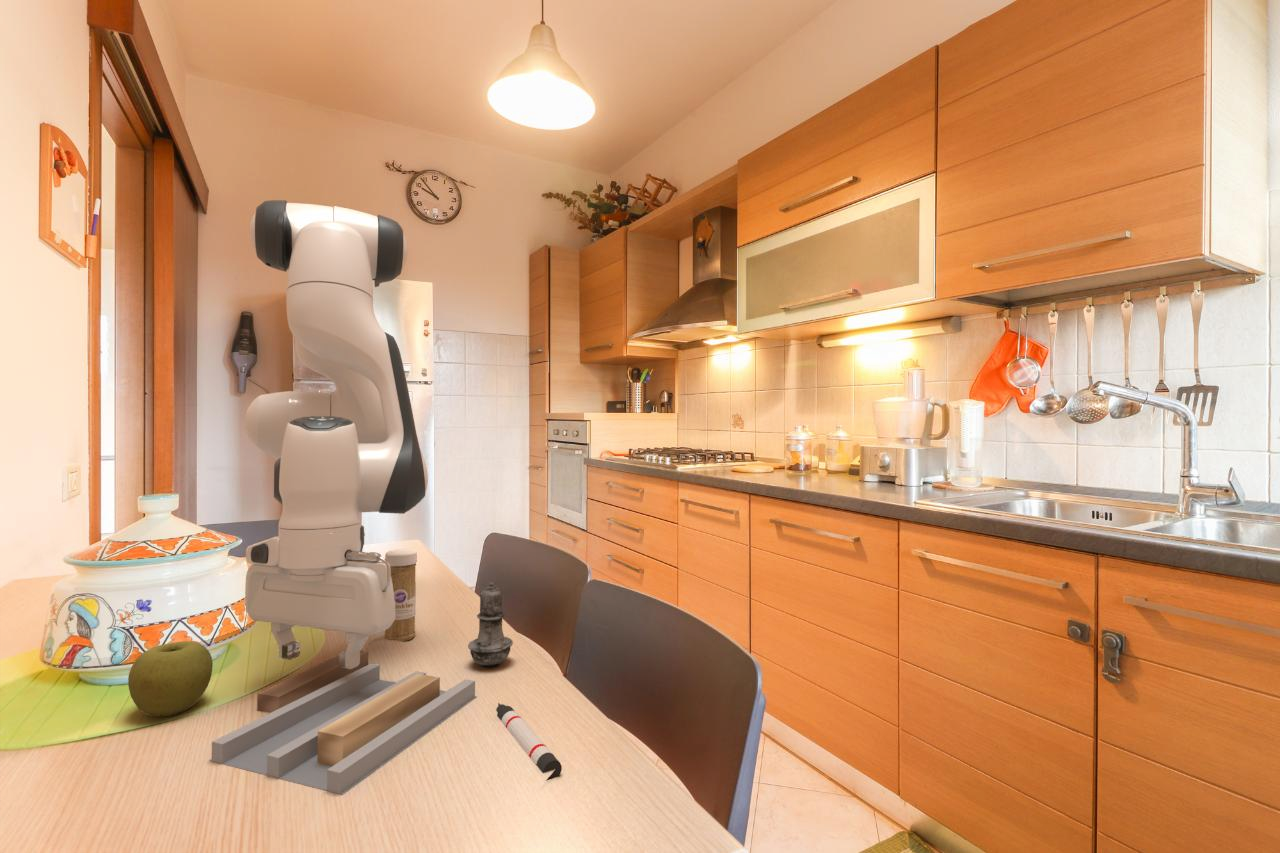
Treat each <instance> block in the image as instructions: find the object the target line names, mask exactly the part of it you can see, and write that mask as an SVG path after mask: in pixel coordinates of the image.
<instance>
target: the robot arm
mask: <svg viewBox="0 0 1280 853" xmlns="http://www.w3.org/2000/svg"><path fill="white" fill-rule="evenodd" d="M403 229H404V228H402V226H401V225H400V224H399V222H398V221H396V220H394V219H392V218H389V217H386V216H384V215H381V214H377V215H374V214H370V213H367V212H363V211H360V210H356V209H352V208H346V207H341V206H337V205H334V206H328V205H321V204H313V203H301V202H300V203H299V202H288V201H287V200H284V199H273V200H269V199H268V200H264V201H263V202H262V203H261V204H259V205H258V206H257V207H256V209H255V212H254V213H253V216H252V218H251V221H250V226H249V236H250V242H251V244H252V247H253V249H254V251H255V254H256V257H257V258H258V259H259V260H260V262H262V263H263V264H264V265H265V266H267V267H269V268H272V269H275V270H279V271H281V272H287V281H286V295H285V297H286V298H285V300H286V302H285V304H286V316H287V317H286V318H287V324H288V329H289V330H290V332H291V333H292V334H291V335H292V336H293V337H294V338H295V348H294V349H295V354H296V357H297V359H298V360H299V361H300V363H301V364H303V366H304V367H306V368H308V369H309V370H311V371H313V372H314V373H315V372H316V373H317V374H319V375H320V376H323V377H325V378H328V379H329V380H330V381H331V382H332V383H333V384H334V386H335V390H333V391H330V392H328V391H326V392H325V391H324V392H322V391H298V390H297V391H295V390H288V391H279V392H278V391H277V392H271V393H263V394H260V395H258V396H257V397H256V398H254V399H253V401H251V403H250V404H249V406H248V408H247V410H246V413H245V415H244V416H245V417H244V427H245V431H246V434H247V436H248V438H249V439H250V441H251V442H252V443H253V445H255V446H256V447H258V449H260V450H262V451H263V452H265V453H266V454H268V455H269V456H270V457H271V458H273V459H274V460H275V462H274V466H273V468H274V469H273V497H274V499H275V500H277V502H278V503H279V504H281V505H282V511H281V515H280V518H279V520H278V535H277V536H273V537H271V538H269V539H268V538H267V539H265V540H262V541H259V542H255V543H253V544H251V545H248V546H247V548H246V549H245V559H246V562H247V563H248V564H251V565H250V566H248V569H247V571H246V576H245V588H244V590H245V591H244V594H245V595H244V599H245V606H246V610H245V611H246V613H247V615H248V617H249V618H250V619H251V620H252V621H258V622H265V623H271V628H270V629H271V630H270V631H271V633H272V635H273V637H274V639H275V641H276V644H277V645H278V658H279V659H280V660H281V659H283V660H293V659H295V658H297V657H299V656H300V653H301V649H300V648H301V641H297V640H296V638H295V635H294V632H293V629H292V628H294V627H296V626H297V627H303V628H304V627H305V628H312V629H320V630H327V631H334V632H340V633H341V632H342V633H345V641H347V642H348V645H347V647H346V650H345V651H346V652H345V651H343V652H340V653H338V655H339V660H340V662H339V667H340V668H345V669H353V668H355V667H357V666H358V665H359V663H360V651H362V649H363V647H364V646H365V644H366V642H367V641H368V639H369V637H370V636H373V635H376V634H379V633H382V632H383V631H385V630H386V629H388V628H390V626H391V625H392V624H393V622H394V620H395V600H394V591H393V584H392V579H391V569H390V564H389V563H387V561H386V560H385V558H384V557H382V554H380V553H378V552H374V551H372V552H371V551H370V552H365V551H363V549H364V546H365V537H366V534H365V533H366V532H365V527H364V525H362V523H363V522H362V520H363V519H362V518H363V513H376V512H378V513H380V514H399V515H400V514H406V513H407V512H409V511H411V510H412V509H413V508H414V507H416V506H417V505H418V504H419V503H420V502H421V501H423V499H424V498H425V497H426V492H427V489H428V485H429V484H428V482H429V481H428V480H429V477H428V476H429V475H428V469H427V468H428V467H427V464H426V461H425V458H424V456H423V453H422V450H421V448H420V443H419V439H418V434H417V430H416V423H415V418H414V414H413V407H412V402H411V398H410V397H411V396H410V393H409V387H408V382H407V376H406V374H405V367H404V364H403V359H402V355H401V350H400V348H399V346H398V343H397V341H396V339H395V337H394V336H393V335H391V334H390V333H387V332H386V331H384V330H383V328H382V327H381V325H380V324H379V322H378V320H377V317H376V315H375V311H374V288H373V287H375V288H377V287H380V285H381V284H382V283H383V284H384V283H387V282H392V281H394V280H395V279H396V278H398V277H400V275H401V273H402V271H403V269H404V267H405V265H406V263H407V259H408V251H409V250H408V242H407V240H406V236H405V235H404V234H405V233H404V231H403ZM373 281H374V282H373ZM373 283H374V286H373Z"/></svg>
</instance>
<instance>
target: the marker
mask: <svg viewBox="0 0 1280 853" xmlns="http://www.w3.org/2000/svg"><path fill="white" fill-rule="evenodd" d="M497 704H498V706H497V707H496V710H495V711H496V713H497V715H496V717H497V718H498V719H499V720H500V722H501V723H502V724H503V726H504V727H505V728H506V730H507V731H508V732H509V734H511V737H513V738H514V740H515V741H516V742H517V744H518V745H519V746H520V747H521V748H522V750H523V751H524V752H525V754H527V756H528V757H529V758H530V760H531V761H532V763H533V764H534V765H535V766H537V768H538V769H539V770H540V772H541V773H542V774H545V773H548V772H551V771H553V772H552V773H551V774H550V775H549V776H548V778H547V779H546V780H545V781H550V780H553V779H556V778H558V777H560V775H561V774H562V769H563V768H562V764H561V762H560V760H558V759H557V758H556V756H555V754H553V752H552V751H551V750H550V749H549V748H548V746H547V745H546V744H545V743H544V742H543V741H542V740H541V738H540V737H539V736H538V735H537V734H536V732H534V731H533V729H532V728H531V727H530V725H528V724H527V723H526V721H525V720H524V719H523V718H522V717H521V715H520V714H519V713H517V711H515V710H514V708H513V707H511V706H510V705H505V704H503V703H502V704H500V703H499V702H498V703H497Z"/></svg>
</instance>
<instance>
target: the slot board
mask: <svg viewBox="0 0 1280 853" xmlns="http://www.w3.org/2000/svg"><path fill="white" fill-rule="evenodd" d="M380 666H381V665H380V664H377V663H375V664H374V663H370V664H369V663H368V665H367V666H365V667H363V668H361V669H359V670H357V671H355V672H353V673H351V674H349V675H347V676H345V677H343V678H341V679H339V680H337V681H334V682H332V683H330V684H328V685H326V686H324V687H322V688H320V689H318V690H316V691H314V692H312V693H310V694H308V695H306V696H304V697H302V698H300V699H298V700H296V701H294V702H292V703H290V704H288V705H286V706H284V707H282V708H279V709H277V710H275V711H273V712H271V713H269V712H268V714H266V715H263V716H262V717H259V718H257V719H255V720H253V721H251V722H250V723H247V724H245V725H243V726H240V727H239V728H237V729H235V730H233V731H231V732H229V733H227V734H225V735H223V736H221V737H219V738H217V739H214V740H212V741H211V759H209V760H208V761H209V762H212V763H216V764H219V765H224V766H227V767H232V768H235V769H239V770H244V771H247V772H252V773H255V774H259V775H264V776H267V777H270V778H274V779H278V780H283V781H286V782H290V783H294V784H298V785H302V786H306V787H308V788H309V787H310V788H312V789H313V788H314V789H316V790H321V791H324V792H327V793H328V792H329V793H332V794H337V795H340V796H343V795H344V794H346V793H347V792H349V791H350V790H351V789H353V788H355V787H356V786H357V785H358V784H360V783H361V782H362V781H364V780H365V779H367V778H368V777H369V776H371V775H372V774H373V773H375V772H376V771H377V770H379V769H380V768H382V767H383V766H384V765H385V764H387V763H389V762H390V761H391V760H393V759H394V758H395V757H397V756H399V754H401V753H402V752H404V751H405V750H406V749H408V748H409V747H411V746H412V745H413V744H415V743H416V742H417V741H418V740H421V738H424V736H425V735H427V734H428V733H430V732H431V731H433V730H434V729H435V728H436V727H437V728H438V726H439V725H441V724H443V723H444V721H446V720H448V719H449V718H450V717H452V716H453V715H455V714H456V713H457V712H458V711H460V710H461V709H463V708H464V707H465V706H467V705H468V704H470V703H471V702H472V701H474V700H475V699H476V698H478V696H477V695H476V680H474V679H473V680H471V679H466V678H465V679H463V680H461V681H460V682H459V683H457V684H456V685H454V686H453V687H451V688H450V689H447V690H442V689H440V696H439V697H437V698H436V699H434V700H433V701H431V702H430V703H428V704H427V705H425V706H424V707H422V708H420V709H419V710H417V711H416V712H414V713H413V714H411V715H410V716H408V717H407V718H405V719H404V720H402V721H401V722H399V723H398V724H396V725H395V726H393V727H392V728H390V729H388V730H387V731H385V732H384V733H382V734H381V735H379V736H378V737H376V738H375V739H373V740H372V741H370V742H369V743H367V744H366V745H364V746H363V747H361V748H360V749H358V750H356V751H355V752H353V753H352V754H350V755H349V756H347V757H346V758H344V759H343V760H341V761H340V762H338V763H337V764H335V765H334V766H332V767H331V766H327V765H323V764H319V763H317V758H318V731H319V730H321V729H322V728H324V727H326V726H328V725H329V724H331V723H333V722H335V721H337V720H338V719H340V718H342V717H344V716H345V715H347V714H349V713H351V712H352V711H354V710H356V709H358V708H359V707H361V706H363V705H365V704H366V703H368V702H370V701H372V700H373V699H375V698H377V697H379V696H380V695H382V694H384V693H386V692H387V691H389V690H391V689H393V688H394V687H396V686H398V685H400V684H401V683H403V682H405V681H407V680H408V679H410V678H412V677H414V676H415V675H417V674H422V675H427V672H423V671H418V670H417V671H415V672H413V673H410V674H409V675H407V676H405V677H403V678H402V679H400V680H398V681H396V682H395V681H390V680H383V679H381V678H380V671H381V670H380V668H381V667H380Z"/></svg>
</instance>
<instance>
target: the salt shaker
mask: <svg viewBox="0 0 1280 853" xmlns="http://www.w3.org/2000/svg"><path fill="white" fill-rule="evenodd" d="M488 585H489V586H487V587H486V588H484V589H482V591H481V592H480V596H479V601H480V602H479V613H478V614H477V615H476V618H477V619H478V621H479V622H478V623H479V624H478V625H479V626H478V627H479V628H478V634H477V638H475V639H472V640H471V641H470V642H468V645H467V647H468V649H469V651H470V652H469V654H470V655H471V657H472V660H473V661H474V662H475V663H476V664H478V665H480V666H481V667H482V668H486V669H488V668H489V669H490V668H491V669H492V668H496V667H498V666H499V665H500V664H501V663H503V662H504V661H505V660H506V659H507V658H508V657H509V655H510V652H511V647H512V646H513V644H514V641H513V639H511V638H509V637H507V636H505V635H504V631H503V618H504V617H505V612H503V607H502V606H503V592H502V591H501V589H499V588H498V587H496V586H494V582H493V581H492V580H490V581H489V583H488Z"/></svg>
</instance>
